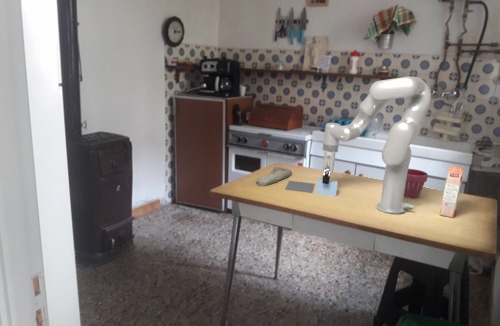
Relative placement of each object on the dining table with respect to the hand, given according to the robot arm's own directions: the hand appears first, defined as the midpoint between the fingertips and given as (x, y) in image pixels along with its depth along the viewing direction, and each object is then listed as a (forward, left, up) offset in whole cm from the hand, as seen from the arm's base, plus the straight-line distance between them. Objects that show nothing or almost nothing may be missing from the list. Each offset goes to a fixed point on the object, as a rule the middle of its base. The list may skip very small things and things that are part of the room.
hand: (325, 180), depth 195 cm
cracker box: (-57, +6, -7) cm, 57 cm away
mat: (+13, -7, -7) cm, 16 cm away
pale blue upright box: (-1, 0, -7) cm, 7 cm away
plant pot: (-43, -15, -7) cm, 46 cm away
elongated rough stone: (+29, -16, -7) cm, 34 cm away
